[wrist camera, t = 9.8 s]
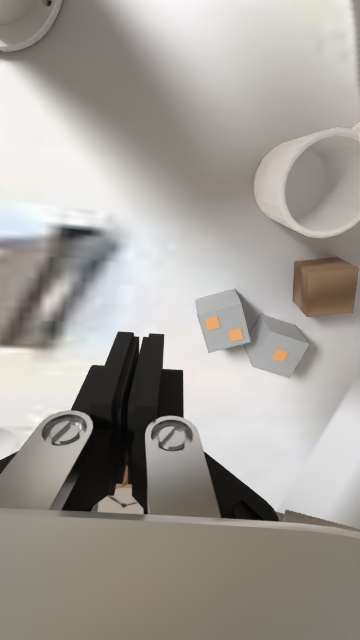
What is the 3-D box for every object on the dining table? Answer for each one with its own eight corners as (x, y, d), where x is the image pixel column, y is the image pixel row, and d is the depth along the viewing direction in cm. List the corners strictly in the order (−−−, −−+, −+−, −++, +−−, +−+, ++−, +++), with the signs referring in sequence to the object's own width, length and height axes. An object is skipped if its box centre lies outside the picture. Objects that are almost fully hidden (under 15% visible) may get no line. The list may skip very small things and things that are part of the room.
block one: (260, 313, 40) (270, 331, 36) (295, 325, 41) (310, 344, 36) (244, 345, 42) (252, 367, 38) (278, 356, 43) (289, 378, 38)
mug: (376, 147, 32) (450, 137, 24) (287, 237, 36) (321, 257, 27) (327, 84, 30) (388, 47, 21) (237, 187, 34) (257, 191, 25)
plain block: (294, 261, 38) (309, 273, 33) (337, 257, 37) (358, 268, 33) (292, 300, 40) (306, 316, 35) (333, 296, 39) (352, 312, 35)
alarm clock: (123, 535, 55) (53, 505, 48) (124, 506, 59) (60, 475, 52) (173, 508, 52) (107, 473, 45) (170, 480, 56) (109, 443, 49)
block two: (195, 299, 40) (197, 316, 35) (234, 288, 39) (241, 304, 34) (205, 333, 42) (208, 353, 37) (242, 323, 41) (250, 342, 36)
